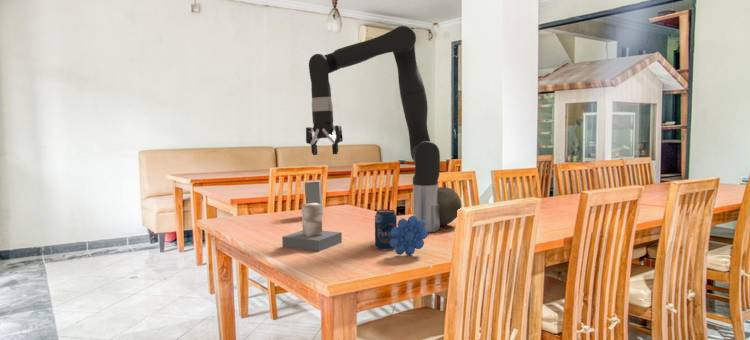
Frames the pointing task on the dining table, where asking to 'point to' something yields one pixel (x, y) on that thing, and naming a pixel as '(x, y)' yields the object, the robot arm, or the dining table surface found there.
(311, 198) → the grey rectangular block
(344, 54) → the robot arm
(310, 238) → the slate base
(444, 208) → the dark grey ball
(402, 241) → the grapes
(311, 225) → the grey piece
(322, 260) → the dining table surface
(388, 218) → the soda can
